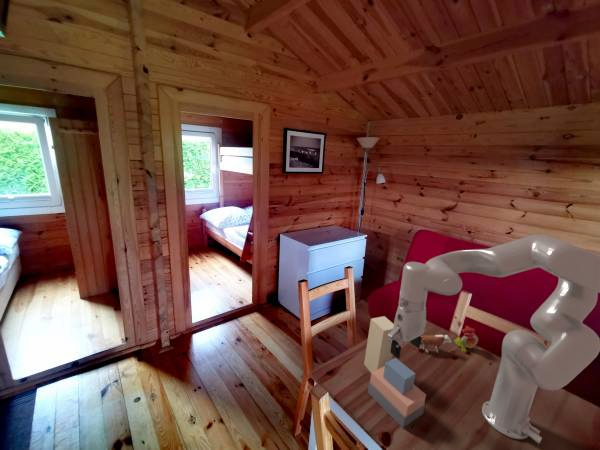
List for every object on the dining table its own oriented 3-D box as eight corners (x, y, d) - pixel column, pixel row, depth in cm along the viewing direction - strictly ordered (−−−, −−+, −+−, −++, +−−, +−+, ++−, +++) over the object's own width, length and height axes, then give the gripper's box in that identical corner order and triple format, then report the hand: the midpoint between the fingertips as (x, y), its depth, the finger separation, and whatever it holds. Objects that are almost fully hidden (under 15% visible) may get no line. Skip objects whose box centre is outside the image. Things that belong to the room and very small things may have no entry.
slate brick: (412, 389, 89) (415, 373, 87) (402, 395, 86) (405, 379, 85) (393, 372, 95) (395, 357, 94) (383, 377, 93) (385, 362, 91)
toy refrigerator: (391, 375, 105) (399, 327, 100) (376, 379, 102) (383, 330, 97) (378, 360, 112) (385, 315, 107) (363, 364, 109) (370, 318, 104)
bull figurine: (450, 354, 118) (454, 338, 116) (419, 352, 118) (422, 336, 116) (445, 348, 122) (448, 332, 120) (415, 346, 122) (418, 330, 120)
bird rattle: (463, 347, 127) (448, 341, 125) (476, 327, 125) (462, 321, 123) (473, 356, 121) (458, 350, 119) (487, 336, 119) (472, 329, 117)
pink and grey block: (422, 413, 89) (427, 394, 87) (402, 428, 84) (406, 407, 82) (387, 381, 101) (390, 363, 99) (367, 392, 96) (370, 373, 94)
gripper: (403, 315, 76) (396, 367, 80) (440, 301, 85) (432, 348, 89) (382, 303, 82) (377, 352, 86) (419, 290, 91) (412, 335, 95)
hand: (405, 350), depth 88 cm, fingers open, 9 cm apart
